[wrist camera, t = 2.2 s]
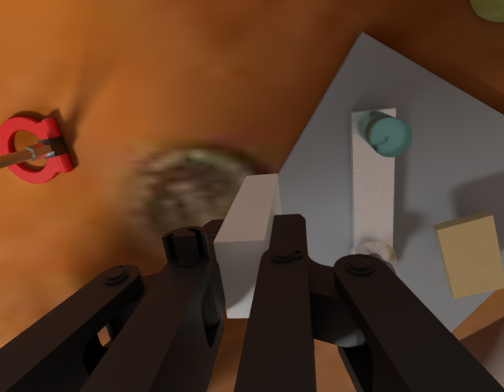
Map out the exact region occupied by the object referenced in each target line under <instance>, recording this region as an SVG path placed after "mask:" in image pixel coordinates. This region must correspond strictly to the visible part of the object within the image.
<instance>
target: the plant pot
mask: <svg viewBox="0 0 504 392" xmlns="http://www.w3.org/2000/svg"><path fill="white" fill-rule="evenodd" d="M470 4H471V7H472V9H473V10H474V12H475V13H476V14H477V15H478V16H480V17H481V18H483V19H485V20H487V21H490V22H504V0H470Z"/></svg>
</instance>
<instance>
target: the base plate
mask: <svg viewBox="0 0 504 392" xmlns="http://www.w3.org/2000/svg"><path fill="white" fill-rule="evenodd" d="M383 107H394V108H396V118H397V119H400V120H402V121H404V122H405V123H407V124H408V125H409V127H410V128H411V131H412V142H411V144H410V146H409V148H408V149H407V150H406V151H405V152H404V153H402V154H401V155H399V156H396V157H395V169H394V212H393V249H394V251H395V253H396V255H397V264H396V267H395V268H394V269H395V272H396V275H397V276H398V277H399V278H400V279H401V280H402V281H403V282H404V283H405V285H406V286H407V287H408V288H409V289H410V290H411V291H412V292H413V293H414V294H415V295H416V296H417V297H418V298H419V299H420V300H421V301H422V302H423V304H424V305H425V306H426V307H427V308H428V309H429V310H430V311H431V312H432V313H433V314H434V315H435V316H436V317H437V318H438V319H439V320H440V321H441V323H442V324H443V325H444V326H445V327H446V328H447V329H448V330H449V331H450V332H452V331H453V330H454V329H455V328H456V327H457V326H458V325H459V324H460V323H462V322H463V321H464V320H465V319H466V318H467V317H468V316H469V315H470V314H471V313H472V312H473V311H474V310H475V309H476V308H477V307H478V306H479V305H481V304H482V303H483V302H484V301H485V300H486V299H487V298H488V297H489V296H490V295H491V294H492V293H493V292H494V291H495V290H493V291H488V292H483V293H479V294H474V295H470V296H465V297H461V298H456V299H454V298H453V296H452V295H451V294H450V292H449V289H448V285H447V281H446V277H445V273H444V269H443V265H442V261H441V257H440V253H439V250H438V246H437V242H436V238H435V234H434V230H433V226H432V225H434V224H438V223H442V222H445V221H449V220H453V219H456V218H460V217H463V216H467V215H471V214H474V213H478V212H482V211H485V210H486V211H488V212H489V213H491V214H492V215H493V218H494V223H495V228H496V234H497V239H498V244H499V249H500V255H501V260H502V265H503V270H504V115H503V114H501V113H499V112H498V111H496V110H494V109H492V108H491V107H489V106H487V105H486V104H484V103H482V102H481V101H479V100H477V99H475V98H474V97H472V96H470V95H469V94H467V93H465V92H464V91H462V90H460V89H458V88H457V87H455V86H453V85H452V84H450V83H448V82H447V81H445V80H443V79H441V78H440V77H438V76H436V75H435V74H433V73H431V72H430V71H428V70H426V69H424V68H423V67H421V66H419V65H418V64H416V63H414V62H413V61H411V60H409V59H408V58H406V57H404V56H402V55H401V54H399V53H397V52H396V51H394V50H392V49H391V48H389V47H387V46H385V45H384V44H382V43H380V42H379V41H377V40H375V39H374V38H372V37H370V36H368V35H367V34H365V33H363V32H362V33H360V34H359V36H358V37H357V39H356V41H355V42H354V44H353V46H352V48H351V49H350V51H349V53H348V54H347V56H346V58H345V59H344V61H343V63H342V65H341V66H340V68H339V70H338V71H337V73H336V75H335V76H334V78H333V80H332V82H331V83H330V85H329V87H328V88H327V90H326V92H325V93H324V95H323V97H322V99H321V100H320V102H319V104H318V105H317V107H316V109H315V110H314V112H313V114H312V115H311V117H310V119H309V121H308V122H307V124H306V126H305V127H304V129H303V131H302V132H301V134H300V136H299V138H298V139H297V141H296V143H295V144H294V146H293V148H292V149H291V151H290V153H289V155H288V156H287V158H286V160H285V161H284V163H283V165H282V166H281V168H280V170H279V172H278V183H279V193H280V202H281V212H282V215H284V214H301V215H302V216H303V217H304V218H305V219H306V232H307V245H308V256H309V257H310V258H311V259H312V260H313V261H315V262H317V263H319V264H322V265H326V266H332V267H334V264H335V262H336V261H337V260H338V259H340V258H341V257H343V256H347V255H348V253H349V248H350V246H351V245H352V243H353V241H352V199H351V157H350V114H349V111H357V110H366V109H375V108H383Z"/></svg>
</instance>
